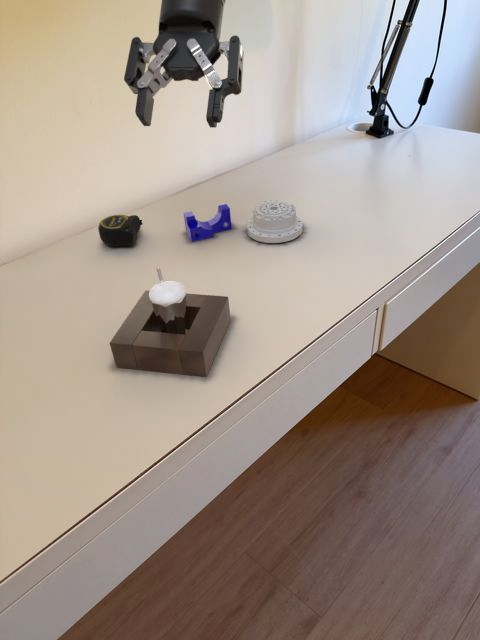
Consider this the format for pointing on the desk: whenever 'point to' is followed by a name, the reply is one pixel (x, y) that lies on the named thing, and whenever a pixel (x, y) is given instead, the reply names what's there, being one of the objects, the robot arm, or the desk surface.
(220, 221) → the cable holder
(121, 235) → the tape measure
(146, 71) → the robot arm
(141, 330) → the socket block
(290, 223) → the mechanical component
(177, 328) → the milkshake
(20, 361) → the desk surface
